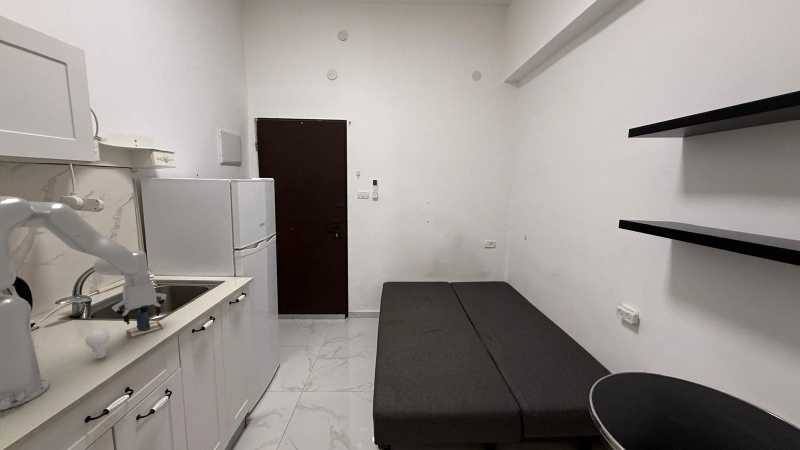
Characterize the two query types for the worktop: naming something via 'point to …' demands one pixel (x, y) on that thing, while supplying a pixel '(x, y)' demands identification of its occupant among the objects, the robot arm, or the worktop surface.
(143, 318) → the vaping device
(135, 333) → the clipboard
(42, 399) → the worktop surface
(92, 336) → the lightbulb
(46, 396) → the worktop surface
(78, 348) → the worktop surface
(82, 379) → the worktop surface
